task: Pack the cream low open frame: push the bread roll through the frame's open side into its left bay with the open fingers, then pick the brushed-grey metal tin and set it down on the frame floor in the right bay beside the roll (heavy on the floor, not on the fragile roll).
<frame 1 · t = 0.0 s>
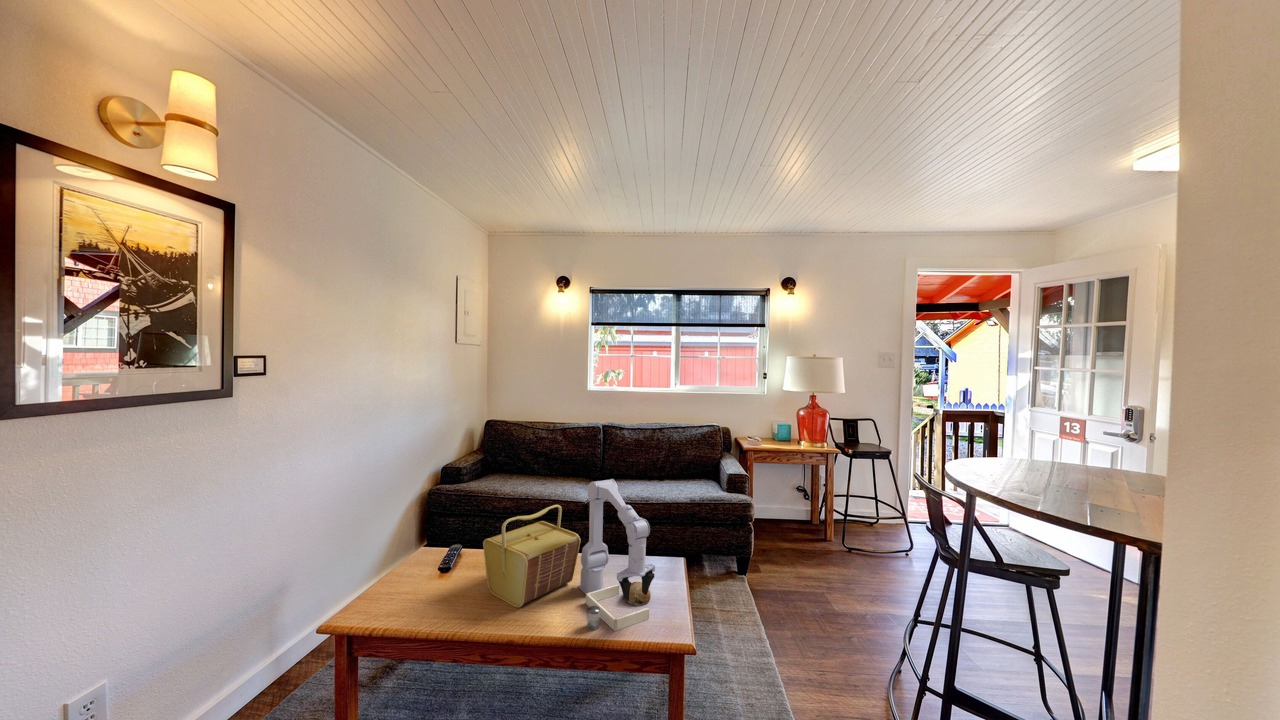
hand: (635, 596, 154), 10 cm above the table, fingers open, 7 cm apart
bread roll: (636, 599, 172), on the table
picnic basket: (530, 589, 176), on the table
cream low open frame: (616, 610, 163), on the table
grey tin: (593, 627, 152), on the table
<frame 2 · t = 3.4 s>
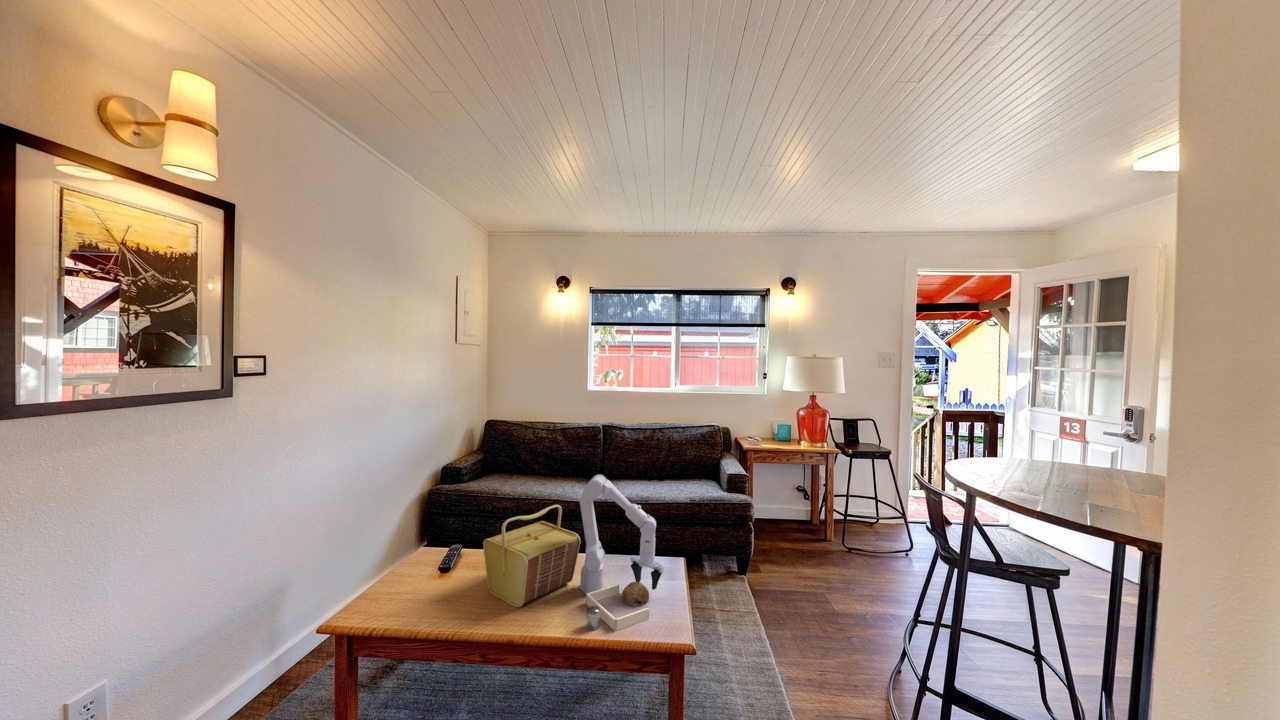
hand: (646, 585, 174), 4 cm above the table, fingers open, 7 cm apart
nothing on the table moved.
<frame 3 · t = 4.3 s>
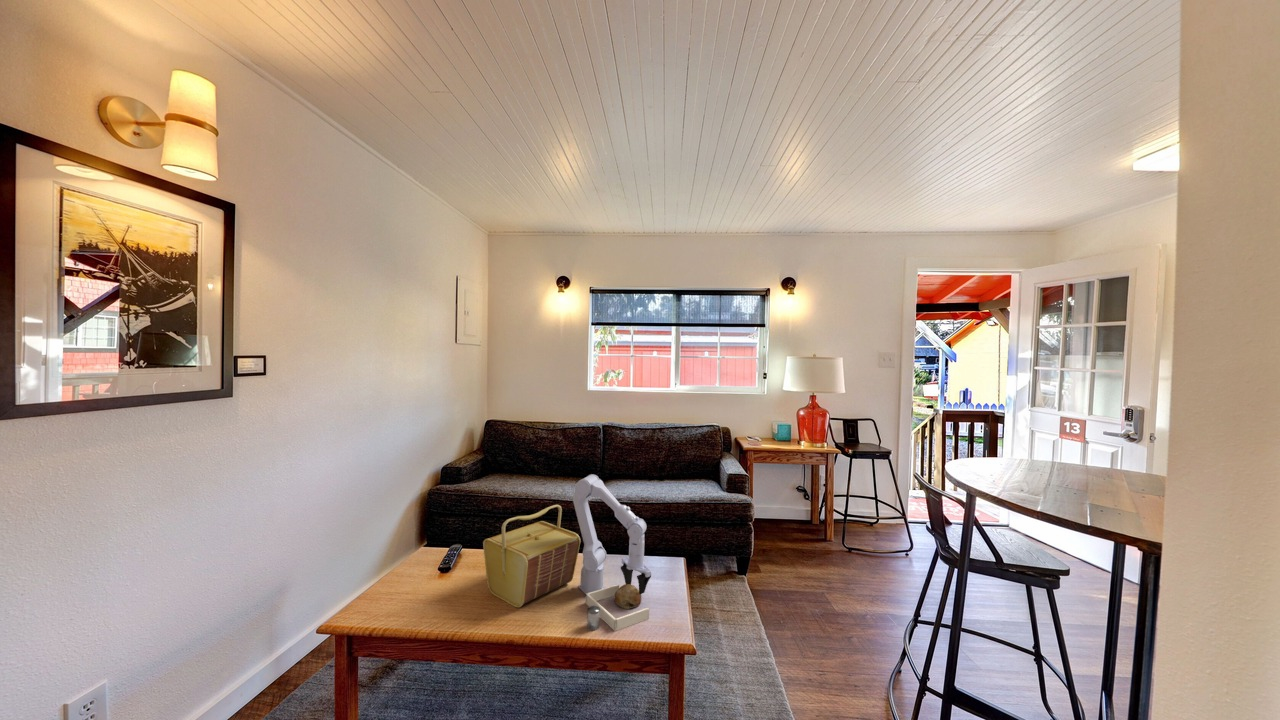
hand: (635, 588, 171), 4 cm above the table
bread roll: (627, 602, 169), on the table, touching gripper
everything else where it was.
when the fingers open (4 cm above the table, at t = 5.7 s): bread roll stays where it is, on the table.
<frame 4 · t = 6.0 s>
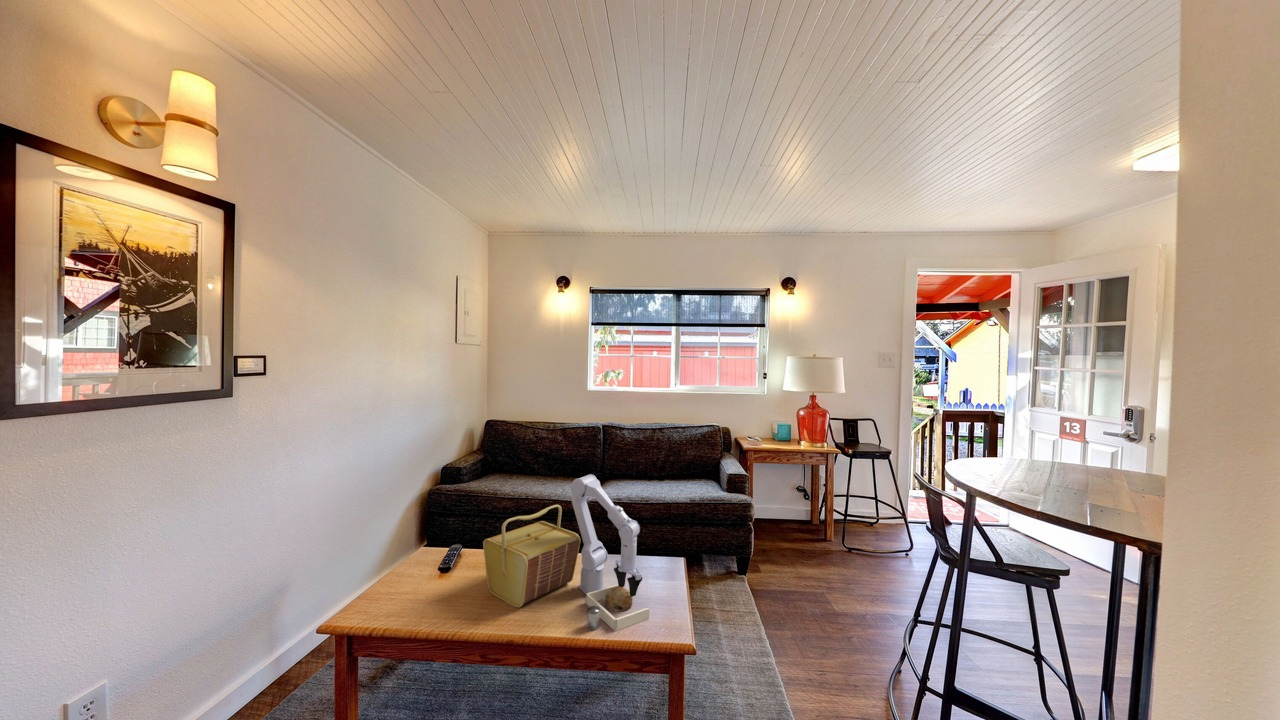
hand: (627, 591, 169), 4 cm above the table, fingers open, 7 cm apart
bread roll: (618, 605, 167), on the table
everything else where it was.
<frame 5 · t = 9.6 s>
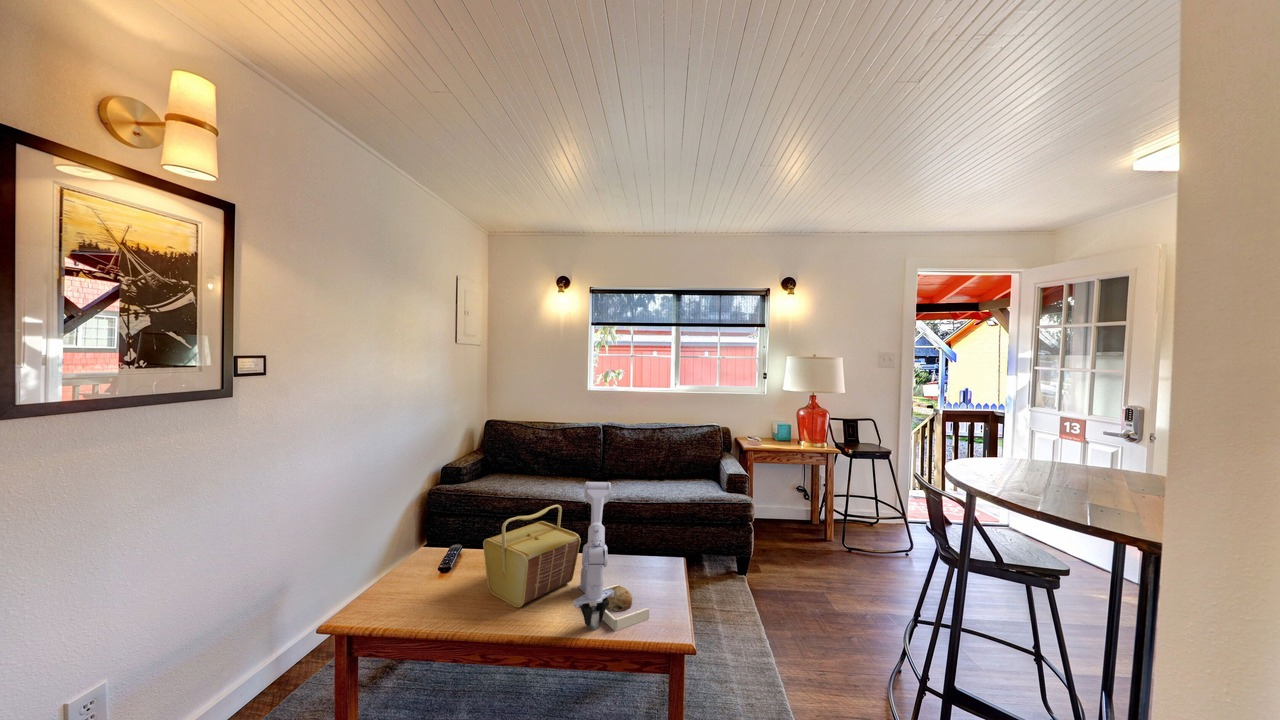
hand: (593, 622, 152), 1 cm above the table, fingers closed on grey tin, 4 cm apart
grey tin: (593, 627, 152), on the table, touching gripper
everything else where it was.
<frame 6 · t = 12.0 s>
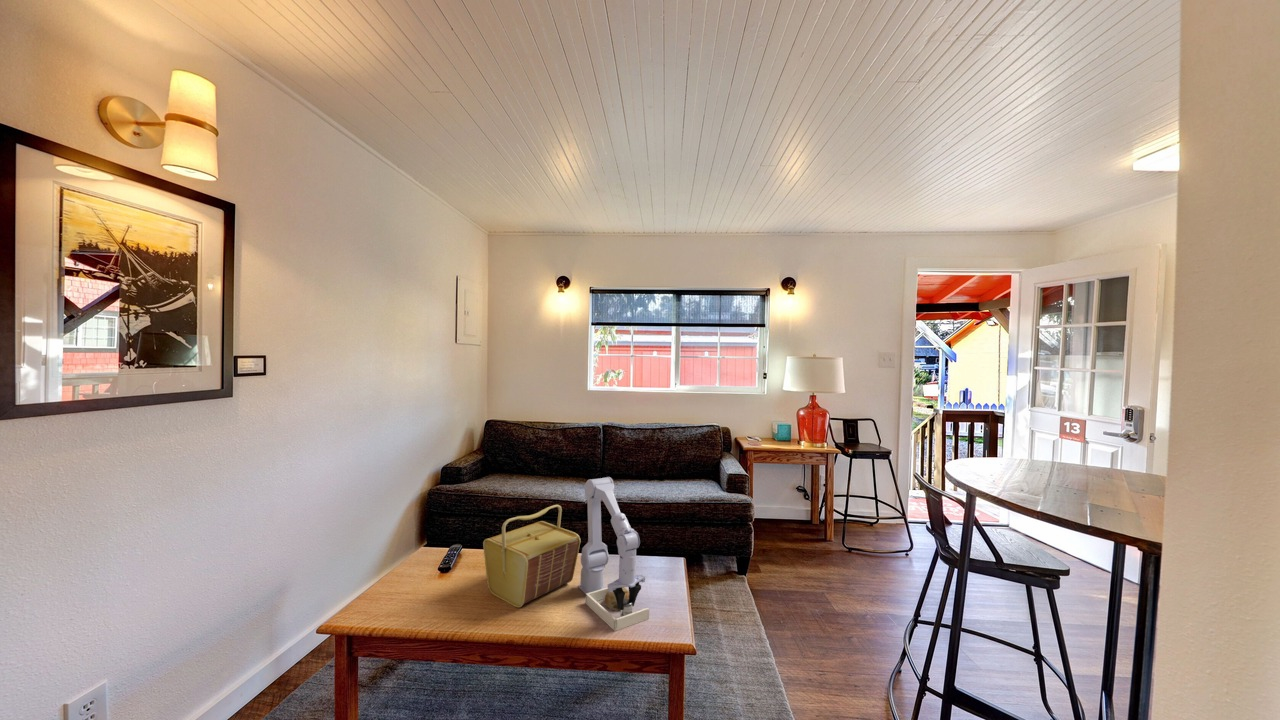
hand: (625, 606, 158), 4 cm above the table, fingers closed on grey tin, 4 cm apart
grey tin: (625, 619, 158), on the table, touching gripper
everything else where it was.
when the fingers open (3 cm above the table, at t = 12.7 s): grey tin stays where it is, on the table.
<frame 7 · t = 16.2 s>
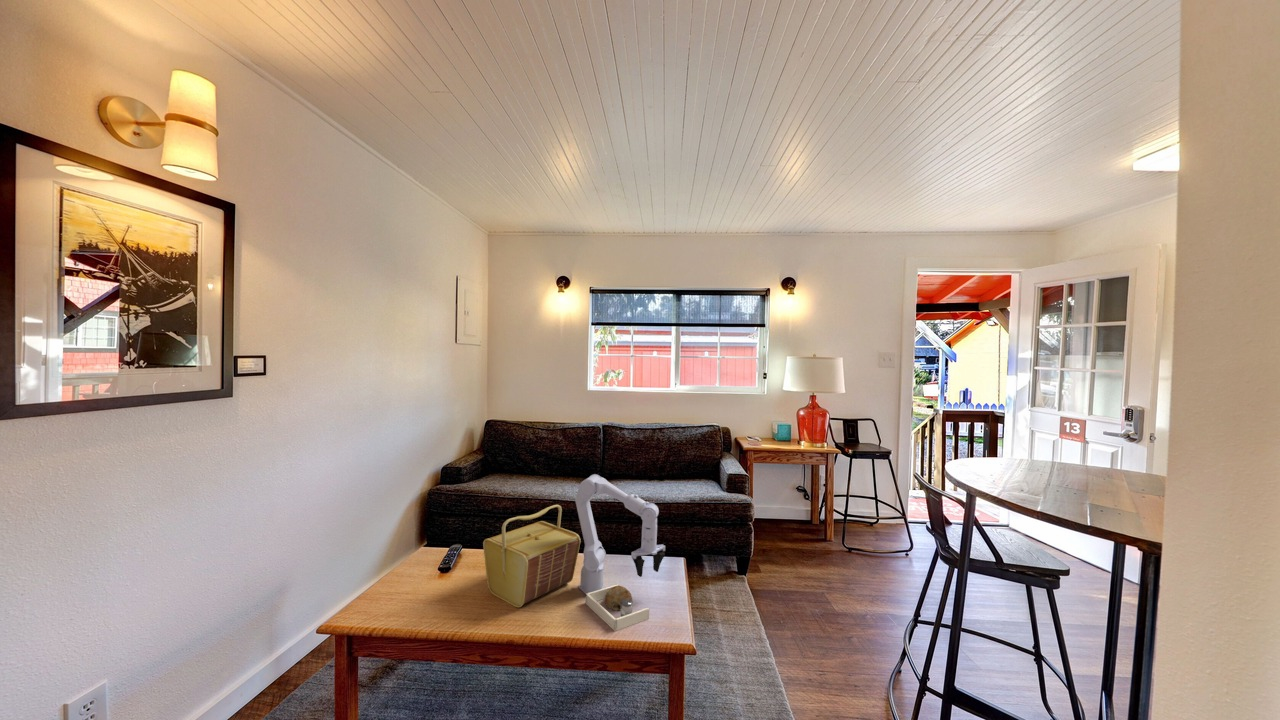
hand: (647, 573, 171), 10 cm above the table, fingers open, 7 cm apart
grey tin: (626, 619, 158), on the table
everything else where it was.
at the end: bread roll inside the target area (3.9 cm from its centre), on the table; grey tin inside the target area (0.4 cm from its centre), on the table; grey tin tilted 0° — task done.
